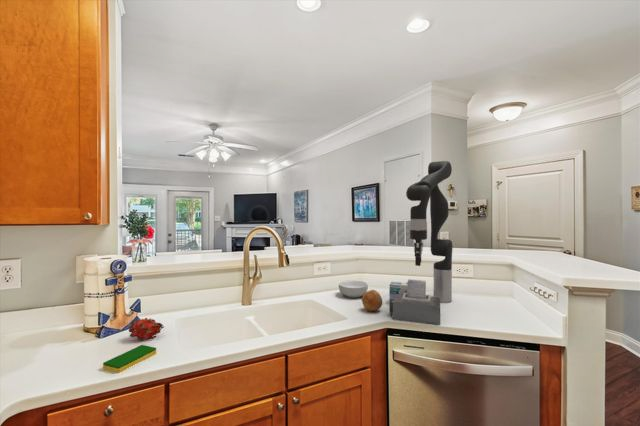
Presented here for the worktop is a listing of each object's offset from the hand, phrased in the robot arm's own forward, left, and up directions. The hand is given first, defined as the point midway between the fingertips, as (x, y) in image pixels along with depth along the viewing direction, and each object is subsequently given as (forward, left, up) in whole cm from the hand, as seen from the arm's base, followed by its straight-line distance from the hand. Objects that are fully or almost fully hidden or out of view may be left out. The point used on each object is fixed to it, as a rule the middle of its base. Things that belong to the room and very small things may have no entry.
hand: (418, 263), depth 141 cm
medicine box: (+1, -1, -17) cm, 17 cm away
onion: (-2, -22, -25) cm, 33 cm away
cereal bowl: (-24, -37, -25) cm, 50 cm away
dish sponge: (+75, -87, -25) cm, 118 cm away
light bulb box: (-18, -10, -25) cm, 32 cm away
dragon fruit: (+61, -98, -25) cm, 118 cm away
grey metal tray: (0, -1, -24) cm, 24 cm away
